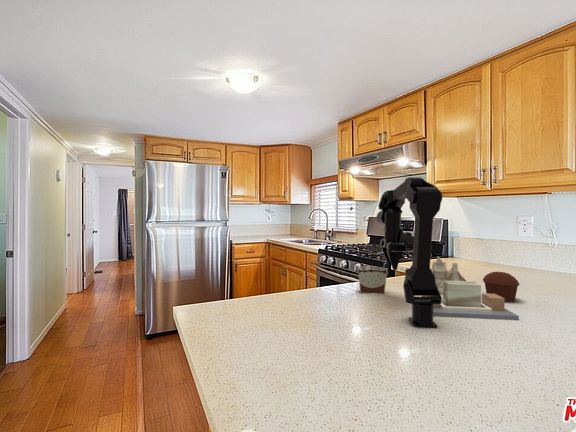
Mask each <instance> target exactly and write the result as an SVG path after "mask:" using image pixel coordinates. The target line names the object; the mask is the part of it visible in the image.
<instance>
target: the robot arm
mask: <svg viewBox="0 0 576 432" xmlns="http://www.w3.org/2000/svg"><path fill="white" fill-rule="evenodd" d="M406 199H407V200H408V202H409V209H410V211H411V212H412V215H413V216H414V228H413V229H414V231H413V233H411V232H408V231H406V232H404V229H403V228H402V214H403V210H402V207H403V206H404V205H405V203H406ZM442 200H443V193H442V191H441V190H439V188H438V187H437V186H436V185H434V184H432V183H430V182H428V181H426V180H425V178H423V177H421V176H419V177H416V176H415V177H412V176H409V177H406V178H405V179H404V181H403V182H402V183H401V184H400V185H398V186H397V187H395V188H394V189H390V190H386V191H383V194H382V195H381V197H380V200H379V202H378V205H377V206H378V210H379V211H378V212H377V214H376V221H377V223H378V224H380V225H384V227H383V231H384V238H381V240H380V241H379V245H380V248H381V250H382V253H383V256H384V258H385V260H386V264H387V265H388V267H389V266H390V267H391V268H392V269H393V271H397V270H398V267H399V263H400V259H401V257H402V256H403V255H405V254H406V253H407V251H408V245H411V246H412V247H413V248H412V249H413V250H412V264H411V266H410V267H409V268H406V269H405V271H404V272H405V273H404V274H405V275H404V281H403V284H402V285H403V293H404V298H405V303H407V304H411V317H408V321H409V322H410V323H411V325H412V326H413V327H420V328H421V327H422V328H439V327H438V324H437V323H436V322H435V320H434V316H433V304H441V301H442V299H443V296H442V294H440V292H439V290H438V288H437V285H436V283H435V276H434V274H433V272H432V271H431V269H432V268H431V257H432V256H431V255H432V243H433V242H432V241H433V240H432V238H433V224H434V218H436V217H435V216H437V214H438V213H439V212H440V210H441V203H442V202H443V201H442ZM412 234H413V235H412ZM407 244H408V245H407ZM430 268H431V269H430ZM422 296H431V297H422Z"/></svg>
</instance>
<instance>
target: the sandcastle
mask: <svg viewBox="0 0 576 432" xmlns="http://www.w3.org/2000/svg"><path fill="white" fill-rule="evenodd" d="M458 267H459V266H458V263H457V262H452V266H451V268H450V269H449V270H448V269H447V263H446V261H444V262H443V260H442V259H441V256H437V258H436V261H433V262H432V266H431V267H430V269H431V271H432V272H433V274H434V276H435V283H436V285H437V288H438V290H439V292H440V295H443V281H467V280H466V279H465V278H464V276H463V275H462V274H461V273H460V272H459V269H458Z"/></svg>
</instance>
